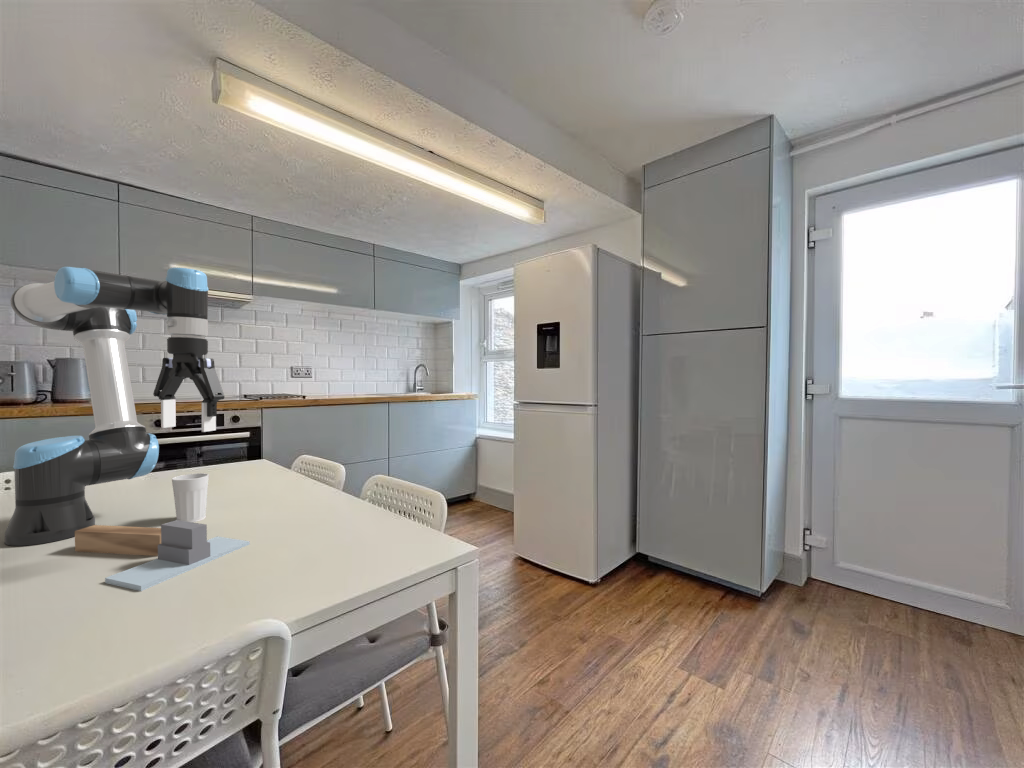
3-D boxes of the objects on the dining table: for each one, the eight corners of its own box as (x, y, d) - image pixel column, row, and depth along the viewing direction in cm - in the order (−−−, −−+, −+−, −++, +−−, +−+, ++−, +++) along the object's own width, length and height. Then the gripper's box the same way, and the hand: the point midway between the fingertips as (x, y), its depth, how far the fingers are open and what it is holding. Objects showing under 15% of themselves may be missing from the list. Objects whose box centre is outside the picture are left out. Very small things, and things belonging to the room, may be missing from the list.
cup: (169, 528, 111) (168, 481, 110) (176, 518, 118) (175, 475, 117) (206, 523, 114) (206, 477, 114) (211, 514, 121) (210, 471, 121)
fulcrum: (105, 583, 81) (104, 541, 81) (217, 540, 102) (216, 506, 102) (141, 591, 78) (140, 547, 78) (249, 545, 99) (249, 511, 99)
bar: (94, 546, 99) (94, 524, 99) (176, 550, 97) (176, 528, 97) (75, 553, 96) (74, 531, 95) (159, 558, 93) (159, 535, 93)
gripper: (134, 336, 100) (134, 427, 101) (209, 335, 92) (210, 434, 92) (169, 338, 107) (169, 423, 108) (242, 338, 99) (242, 430, 99)
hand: (188, 429), depth 100 cm, fingers open, 13 cm apart
